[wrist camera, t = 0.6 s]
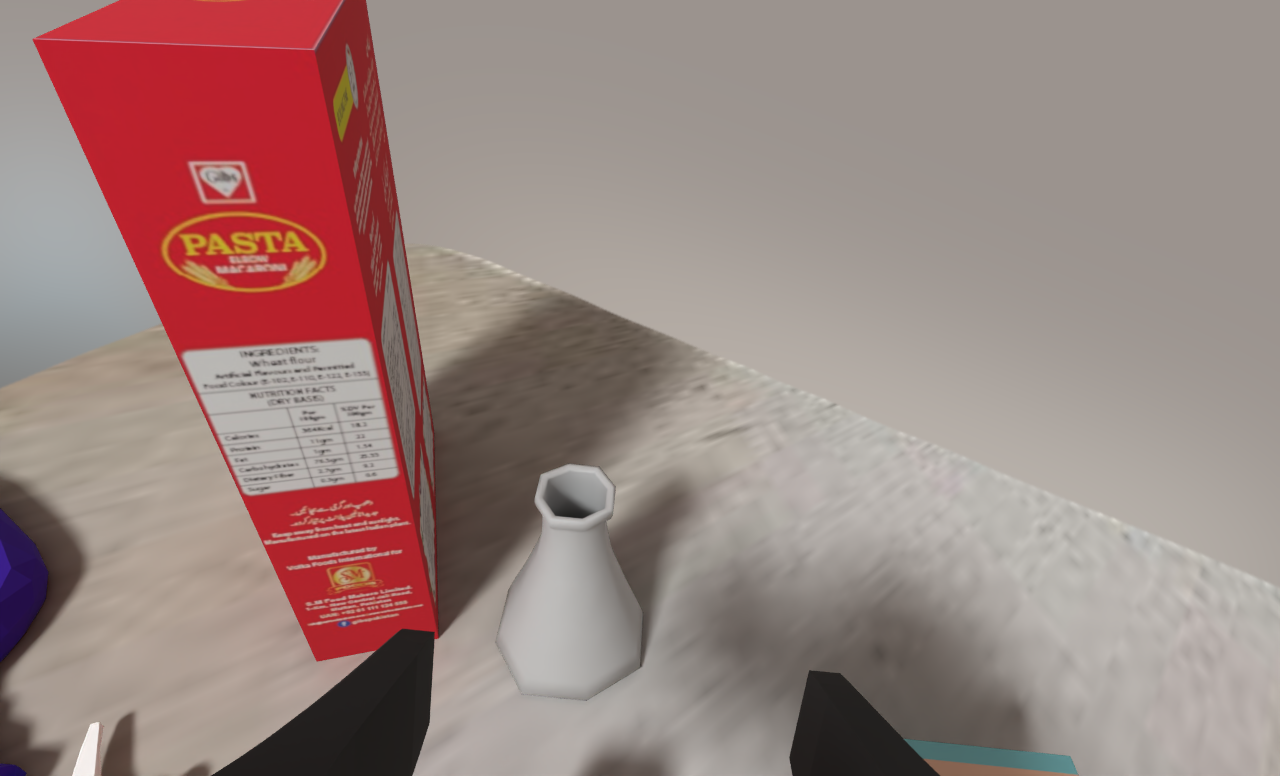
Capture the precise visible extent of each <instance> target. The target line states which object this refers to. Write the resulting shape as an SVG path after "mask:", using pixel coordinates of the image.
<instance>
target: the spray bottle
mask: <svg viewBox="0 0 1280 776" xmlns="http://www.w3.org/2000/svg"><path fill="white" fill-rule="evenodd" d="M47 580H48V570H47V568H46V566H45V564H44V562H43V560H42V557H41V555H40V553H39V551H38V549H37V547H36V545H35V543H34V542H33V541H32V540H31V539H30V538H29V537H28V536H27V535H26V534H25V533H24V532H23V531H22V530H21V529H20V528H19V527H18V526H17V525H16V524H15V523H14V522H13V521H12V520H11V519H10V518H9V517H8V516H7V515H6V514H5V513H4V512H3V511H2V510H1V508H0V662H1V661H2V660H3V659H4V658H5V657H6V656H7V654H8V653H9V652H10V651H11V650H12V649H13V648H14V646H15V645H16V644H17V643H18V641H19V640H20V639H21V638H22V636H23V635H24V634H25V633H26V631H27V629H28V628H29V626H30V625H31V623H32V621H33V620H34V618H35V616H36V615H37V613H38V611H39V610H40V608H41V607H42V605H43V603H44V601H45V599H46V590H47ZM103 727H104V726H103V725H102V724H101V723H100V722H97V723H93V724H90V727H89V730H88V732H87V735H86V737H85V740H84V743H83V745H82V748H81V750H80V753H79V756H78V760H77V763H76V766H75V769H74V772H73V775H72V776H101V755H100V745H101V739H102V733H103ZM0 776H26V772H25V771H24V770H22V769H21V768H20V767H18V766H16V765H12V764H0Z"/></svg>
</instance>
